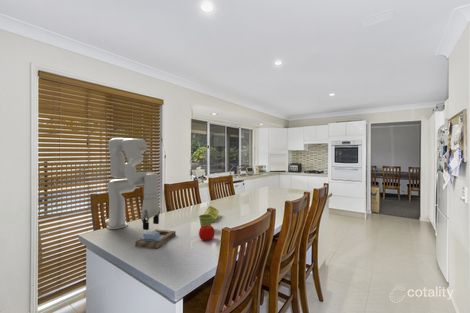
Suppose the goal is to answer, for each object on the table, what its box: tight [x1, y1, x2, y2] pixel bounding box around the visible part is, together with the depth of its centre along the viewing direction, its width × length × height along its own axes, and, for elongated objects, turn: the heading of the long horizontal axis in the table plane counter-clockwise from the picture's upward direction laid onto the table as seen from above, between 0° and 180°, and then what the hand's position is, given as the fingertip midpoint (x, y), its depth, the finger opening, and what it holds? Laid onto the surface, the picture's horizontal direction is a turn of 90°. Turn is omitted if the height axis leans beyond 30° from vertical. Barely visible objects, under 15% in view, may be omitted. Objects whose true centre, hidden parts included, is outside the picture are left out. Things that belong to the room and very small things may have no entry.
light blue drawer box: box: [140, 230, 163, 242], centre depth 128 cm, size 11×4×6 cm, turn 78°
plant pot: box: [198, 214, 213, 228], centre depth 152 cm, size 9×9×9 cm
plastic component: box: [203, 205, 219, 223], centre depth 177 cm, size 20×7×10 cm
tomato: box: [198, 225, 216, 242], centre depth 135 cm, size 9×9×8 cm
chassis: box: [134, 229, 177, 250], centre depth 133 cm, size 13×20×3 cm, turn 167°
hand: (151, 226), depth 129 cm, fingers open, 9 cm apart
